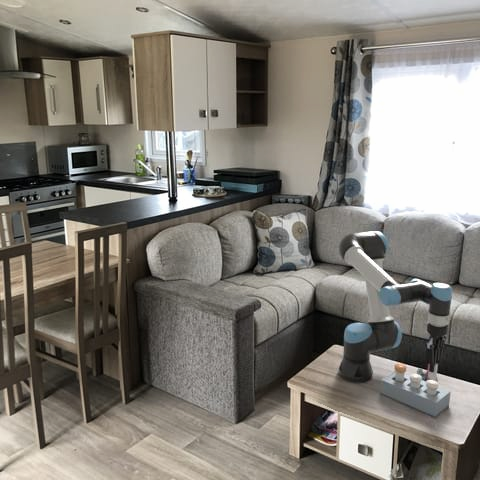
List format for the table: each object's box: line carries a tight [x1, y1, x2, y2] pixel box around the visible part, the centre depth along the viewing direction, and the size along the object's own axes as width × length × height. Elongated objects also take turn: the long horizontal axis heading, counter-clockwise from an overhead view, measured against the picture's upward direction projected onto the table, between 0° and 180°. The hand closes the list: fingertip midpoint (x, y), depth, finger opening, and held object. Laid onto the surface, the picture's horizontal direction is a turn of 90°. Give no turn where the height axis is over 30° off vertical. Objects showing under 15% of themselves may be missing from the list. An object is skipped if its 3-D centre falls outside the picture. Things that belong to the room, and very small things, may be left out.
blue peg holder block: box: [379, 370, 451, 420], centre depth 206 cm, size 24×12×7 cm, turn 43°
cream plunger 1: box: [409, 373, 422, 390], centre depth 205 cm, size 5×5×9 cm
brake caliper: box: [414, 363, 439, 383], centre depth 217 cm, size 11×11×12 cm
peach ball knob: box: [394, 363, 407, 383], centre depth 210 cm, size 5×5×9 cm
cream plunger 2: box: [426, 380, 440, 397], centre depth 200 cm, size 5×5×9 cm
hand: (432, 378), depth 200 cm, fingers closed
